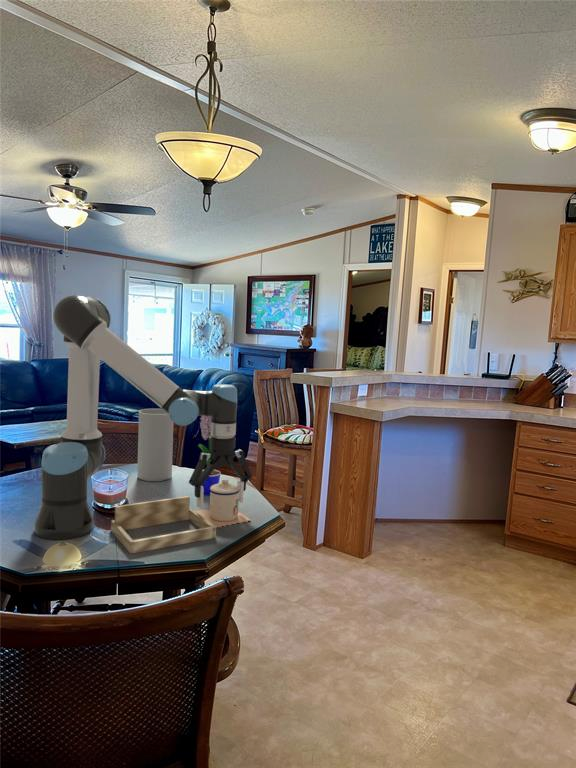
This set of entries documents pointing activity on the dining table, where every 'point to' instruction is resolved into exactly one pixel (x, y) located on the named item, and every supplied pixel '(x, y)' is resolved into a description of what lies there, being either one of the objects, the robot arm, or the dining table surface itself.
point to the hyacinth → (215, 474)
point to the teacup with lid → (224, 501)
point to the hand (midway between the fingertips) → (220, 504)
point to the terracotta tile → (206, 515)
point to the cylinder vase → (155, 445)
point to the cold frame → (155, 515)
